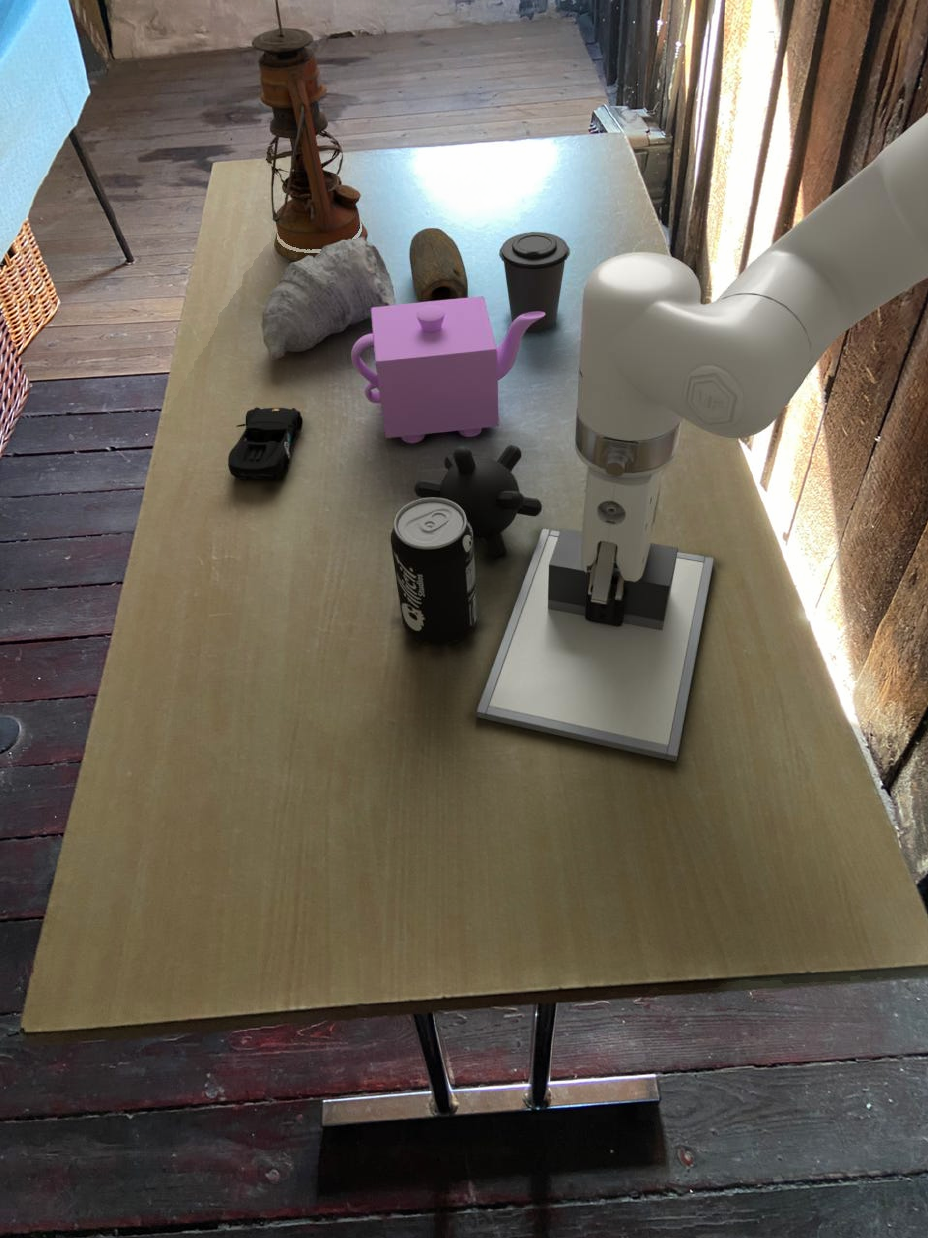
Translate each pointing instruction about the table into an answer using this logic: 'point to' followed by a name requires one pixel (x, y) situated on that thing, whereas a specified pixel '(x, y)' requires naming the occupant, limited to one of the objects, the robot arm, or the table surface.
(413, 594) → the beverage can
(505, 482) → the toy ball
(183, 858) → the table surface
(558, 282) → the coffee cup
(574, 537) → the whiteboard eraser
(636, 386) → the robot arm
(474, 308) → the teapot
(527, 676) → the whiteboard
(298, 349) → the seashell
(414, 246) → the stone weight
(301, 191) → the lantern
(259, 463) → the toy car
